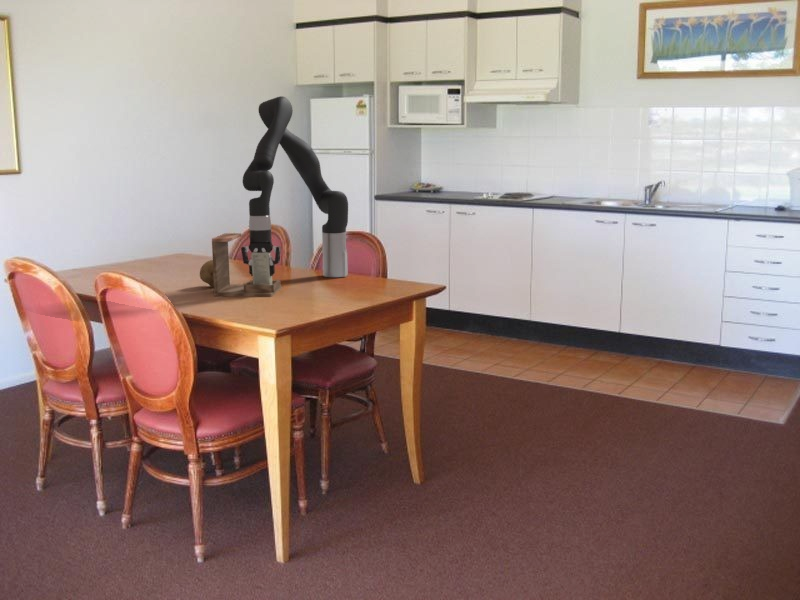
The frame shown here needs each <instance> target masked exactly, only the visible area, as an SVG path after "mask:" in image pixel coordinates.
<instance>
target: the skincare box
mask: <svg viewBox="0 0 800 600" xmlns="http://www.w3.org/2000/svg"><path fill="white" fill-rule="evenodd" d="M271 252H272V251H271ZM271 252H270V253H269V252H267V253H263V252H261V253H252V252H251V253H250V258H251V260H252V275H253V276H252V280H253V285H272V284H273V283H272V280H273V276H270V264H269V257H268V255H269V256H270V254H271V255H272V253H271Z"/></svg>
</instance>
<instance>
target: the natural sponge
mask: <svg viewBox="0 0 800 600" xmlns="http://www.w3.org/2000/svg"><path fill="white" fill-rule="evenodd" d="M199 277H200V279H201V280H200V281H202V282H204V283H206V284H208V286H210V287H211V288H214V275H213V259H211V260H208V261H206V262H204V263H203V264H202V266H201V267H200V271H199Z"/></svg>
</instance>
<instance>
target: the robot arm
mask: <svg viewBox="0 0 800 600" xmlns="http://www.w3.org/2000/svg"><path fill="white" fill-rule="evenodd" d="M258 115H259V117H260V119H261V121H262V123H263V124H264V125H265V127H266V128H267V130H266V132H265V133H264V135H263V136H262V137H261V139H260V140H259V142H258V144H257V146H256V148H255V151H254V156H253V159H252V161H251V162H250V163H249V165H248V167H247V168H246V170H245V171H244V173H243V176H242V186H243V187H244V189H245V190H246V191H248V192H261V194H260V195H259V196H258V197H254V198H250V200H249V202H248V213H249V214H248V215H249V221H248V229H249V245H247V246H246V245H244V246H242V247H241V249H240V250H241V251H240V252H241V256H242V262H243V264H244V265H248V270H249V271H248V272H249V275H250V276H251V277H253V275H252V260H251V257H250V259H249V257H248V252H249V251H250V252H251V253H261V252H263V253H267V252H269V253H270V252H272V250H273V253H275V257H274V258H273V256H272V253H271V254H270V256H269V255H268V257H269V264H270V276H272V277H273V276H274V275H275V273H276V268H275V266H276V265H277V264H279V263H280V260H281V250H282V247H281V246H280V245H278V246H276V245H274V244H273V243H272V242H273V241H272V222H271V213H270V201H271V196H272V192H273V187H274V183H275V181H274V176H273V173H272V172H271V171H270V170H271V169H272V168H273V166H274V162H275V159H276V154H277V151H278V147H279V145H280V147H281V148H282V150H283V151H284V153H286V155H287V157H288V159H289V160H290V162H291V164H292V165H293V167H294V168H295V170H296V171H297V173H298V174H299V175H300V178H301V179H302V180H303V182H304V184H305V185H306V187H307V189H308V190H309V193H311V195H312V198H313V199H314V201H315V204H316V206H317V207H318V209H319V210H320V211H321V212H322V213H323V214H326V215H327V220H326V222H325V223H324V224H323V225H322V227H321V233H322V234H321V235H322V236H321V237H322V242H321V243H322V273H323V274H322V275H323V277H325V278H343V277H344V278H346V277H347V276H348V275H349V274H348V272H349V271H348V250H347V227H348V224H349V221H348V220H349V201H348V197H347V195H346V194H345V193H344V192H342V191H339V190H331V189H330V187H329V186H328V184H327V183H326V181H325V180H324V178H323V175H322V171H321V169H322V168H321V163H320V160H319V158H318V156H317V154H316V153H315V151H314V150H313V148H312V146H311V145H310V144H309V143H308V142H307V141H305V140H304V139H302V138H300V137H299V136H298V135H296V134H294V133H292V132H291V131H290V130H289V129H288V128H287V127H288V125H289V124H290V121H291V119H292V116H293V105H292V103H291V102H290V100H289V99H288V98H287V97H286V96H282V95H281V96H277V97H274V98H271V99H268V100H265V101H263V102H261V103H259V104H258Z"/></svg>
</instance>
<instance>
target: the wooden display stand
mask: <svg viewBox="0 0 800 600" xmlns="http://www.w3.org/2000/svg"><path fill="white" fill-rule="evenodd" d="M240 237H242V233H241V232H240V233H237V232H236V233H234V232H233V233H230V232H229V233H228V232H227V233H222V234H220V235H218V236H215V237H212V238H211V249H212V260H213V275H214V287H213V289H214V291H213V294H214V296H215V295H218V296H217V297H273V296H274V295H275V294H277V293H278V292H279V291H280V290H282V285H281V280H280V279H272V283H273V284H272V285H253V279H251V280H249V281H247V282H246V283H245V284H243V285H231V278H230V256H229V242H232V241H234V240H236V239H238V238H240Z"/></svg>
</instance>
